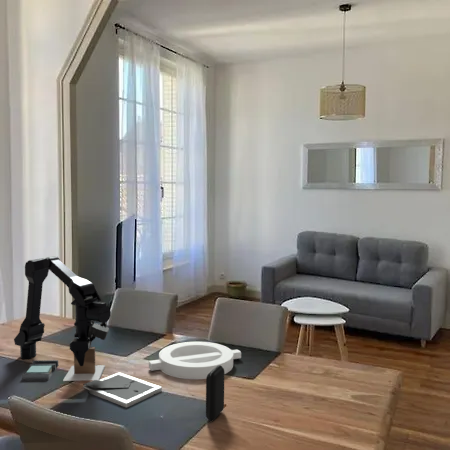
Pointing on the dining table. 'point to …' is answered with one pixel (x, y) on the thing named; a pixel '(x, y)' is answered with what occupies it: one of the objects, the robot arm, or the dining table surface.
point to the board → (84, 377)
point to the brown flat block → (86, 363)
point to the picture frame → (122, 389)
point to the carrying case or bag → (214, 393)
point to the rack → (40, 375)
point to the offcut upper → (39, 369)
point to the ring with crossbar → (194, 359)
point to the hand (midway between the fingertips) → (84, 361)
